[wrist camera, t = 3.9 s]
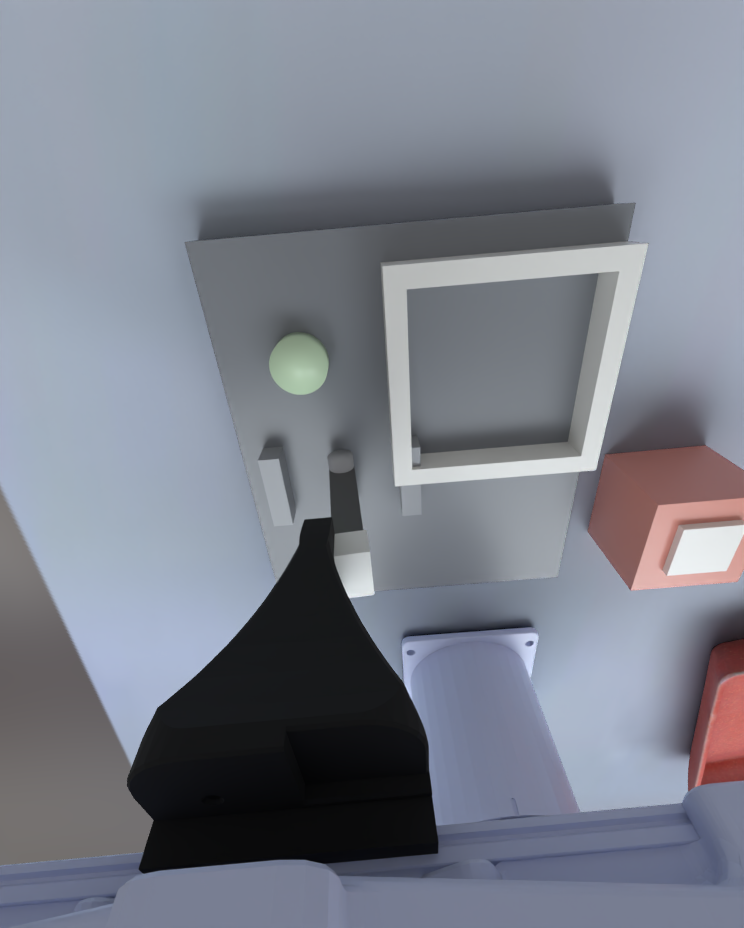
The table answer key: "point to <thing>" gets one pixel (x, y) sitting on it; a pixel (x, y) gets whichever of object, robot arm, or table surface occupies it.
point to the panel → (426, 379)
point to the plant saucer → (720, 720)
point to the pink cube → (670, 517)
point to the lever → (349, 527)
